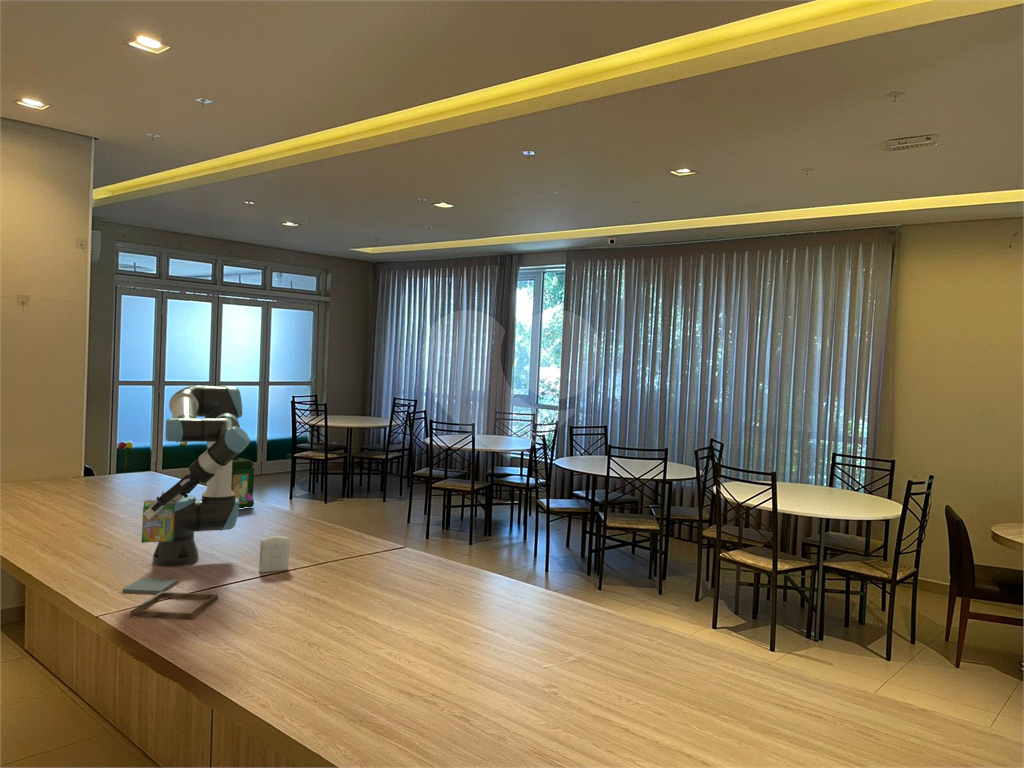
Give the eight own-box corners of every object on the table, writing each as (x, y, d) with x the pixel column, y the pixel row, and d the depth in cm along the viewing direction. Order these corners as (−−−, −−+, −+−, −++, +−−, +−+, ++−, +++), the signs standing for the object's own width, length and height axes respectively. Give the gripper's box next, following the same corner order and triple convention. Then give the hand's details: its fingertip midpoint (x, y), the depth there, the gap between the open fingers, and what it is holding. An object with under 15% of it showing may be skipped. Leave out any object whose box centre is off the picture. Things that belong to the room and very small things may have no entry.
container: (207, 507, 350) (209, 457, 350) (241, 502, 364) (242, 454, 363) (222, 512, 341) (224, 460, 340) (256, 507, 355) (258, 458, 354)
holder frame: (130, 616, 203) (130, 611, 203) (160, 596, 221) (160, 591, 221) (192, 619, 203) (192, 614, 203) (218, 598, 221) (218, 594, 221)
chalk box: (142, 535, 226) (144, 490, 225) (174, 534, 230) (175, 489, 229) (140, 543, 217) (142, 496, 217) (173, 541, 221) (175, 495, 221)
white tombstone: (286, 567, 258) (288, 533, 258) (289, 570, 254) (291, 536, 254) (257, 570, 252) (259, 536, 252) (260, 573, 249) (262, 539, 248)
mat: (122, 592, 223) (122, 589, 223) (142, 580, 235) (142, 577, 235) (160, 594, 223) (160, 590, 223) (178, 582, 235) (178, 579, 235)
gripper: (198, 482, 211) (145, 530, 211) (229, 468, 235) (181, 512, 235) (181, 463, 211) (128, 511, 211) (213, 452, 234) (165, 495, 235)
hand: (156, 511), depth 223 cm, fingers closed on chalk box, 11 cm apart
